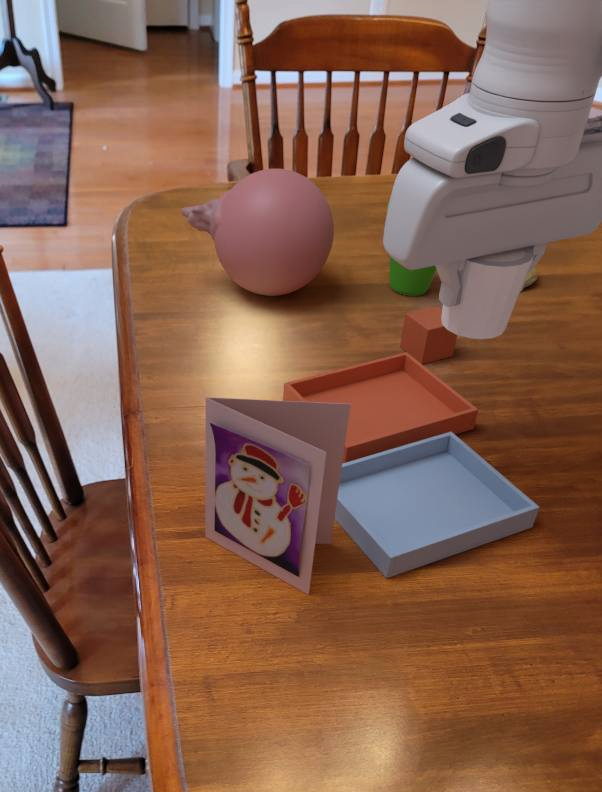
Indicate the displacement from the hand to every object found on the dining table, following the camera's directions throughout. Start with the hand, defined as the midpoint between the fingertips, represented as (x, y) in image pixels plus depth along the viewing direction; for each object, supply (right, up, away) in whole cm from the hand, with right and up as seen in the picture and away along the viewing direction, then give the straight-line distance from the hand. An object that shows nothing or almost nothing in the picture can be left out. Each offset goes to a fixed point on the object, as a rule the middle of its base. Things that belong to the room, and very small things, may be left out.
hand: (479, 296), depth 73 cm
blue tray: (-4, -18, +6) cm, 20 cm away
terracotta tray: (-5, -8, +18) cm, 20 cm away
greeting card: (-18, -22, +2) cm, 28 cm away
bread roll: (+17, +15, +42) cm, 48 cm away
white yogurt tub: (0, -2, +2) cm, 3 cm away
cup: (+4, +13, +40) cm, 42 cm away
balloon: (-17, +13, +41) cm, 46 cm away
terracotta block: (+3, +1, +28) cm, 28 cm away
